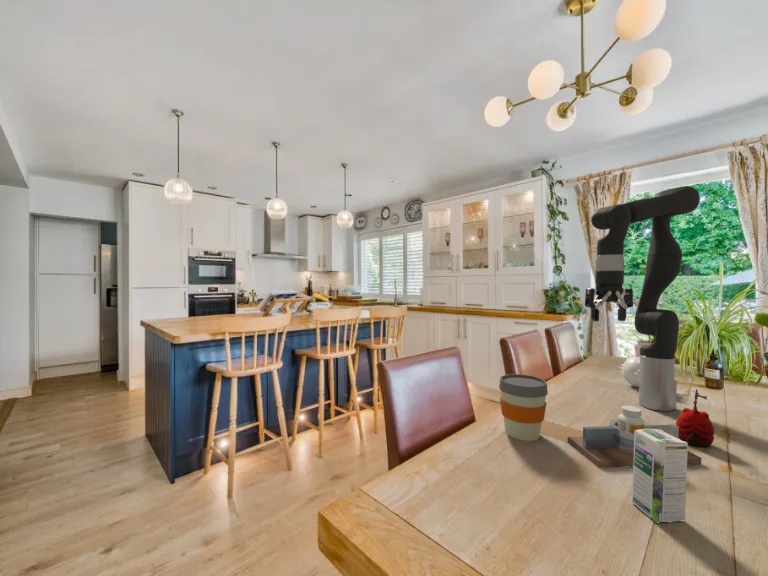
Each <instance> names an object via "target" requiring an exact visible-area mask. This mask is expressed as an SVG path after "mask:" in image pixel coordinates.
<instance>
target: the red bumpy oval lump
mask: <svg viewBox="0 0 768 576" xmlns="http://www.w3.org/2000/svg"><path fill="white" fill-rule="evenodd" d="M698 391H699V390H698V389H695V390H694V389H693V393H694V401H693V405H694V406H693V408H692V409H690V408H689V407H684V408H683V409H682V412H681V413H680V414H679V416H678V417H677V418H676V422H675V425H676V426H678V427H679V428H678V439H680V440H682V441H685V442H687V444H688V445H691V446H694V447H699V448H708V447H710V446H712V444H713V443H714V440H715V437H714V435H715V428H714V425H713V423H712V421H711V419H710V417H709V413H707V412H706V411H700V410H698V407H697V404H698V398H702V399H703V400H706V401H707V400H708V398H707V397H708V396H707V395H701V394H700V393H699V392H698Z"/></svg>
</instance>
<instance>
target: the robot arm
mask: <svg viewBox="0 0 768 576" xmlns="http://www.w3.org/2000/svg"><path fill="white" fill-rule="evenodd" d="M700 198H701V196H700V193H699V191H698V190H697V189H696V187H693V186H689V185H685V186H684V185H683V186H679V187H674V188H670V189H665V190H662V191H659V192H658V193H657V194H656V195H655V196H653V197H647V198H642V199H641V198H640V199H635V200H631V201H628V202H625V203H618V204H615V205H609V206H605V207H600V208H597V210H595V211H594V212H593V213H592V215H591V218H590V221H591V225H592V226H593V227H594V228H596V229H597V230H600V231H603V230H604V231H605V230H609V231H608V233H607V234H606V235H603V236H602V237H599V238H598V239H597V241H596V242H597V243H596V259H595V277H594V278H595V281H594V283H595V288H591V287H587V288H585V299H584V307H585V308H586V307H587V308H590V311H591V312H590V318H591V320H592V321H593V322H599V321H600V307H601V306H602V305H603V304H605V303H610V302H611V303H614V304H615V305H616V306H617V321H619V322H625V321H626V319H627V310H628V309H629V308H633V307H634V294H633V293H634V290H633V288H631V287H625V288H623V285H624V284H625V283H624V282H625V259H624V258H625V257H624V253H625V252H624V250H625V249H624V248H625V246H624V242H625V240H626V237H627V233H628V231H629V228H630V225H631V224H636V223H639V222H643V221H646V220H651V235H650V241H649V249H648V253H647V258H646V264H645V273H644V278H643V284H642V290H641V294H640V297H639V300H638V304H637V307H636V312H635V314H634V327H635V330H636V331H637V332H638V333H639V334H642V335H646V336H654V337H655V339H654V340H655V341H654V342H653V343H651V344H645V345H641V346H640V348H639V357H640V369H639V388H638V404H639V406H641V407H643V408H647V409H648V410H649V409H650V410H653V411H654V410H655V411H660V412H672V411H673V410H676V409H677V393H678V392H677V391H678V390H677V385H678V381H677V380H675V358H676V357H675V356H676V355H675V354H676V352H677V348H678V339H679V330H680V321H679V317H678V314H677V313H676V312H674V311H673V310H669V309H660V308H658V309H657V307H658V303H659V300H660V298H661V296H662V295H663V293H664V291H665V290H667V288H668V287H669V286H670V285H671V284H672V283H673V282H674V281H675V280H676V279H677V277H678V276H679V274H680V271H681V267H682V262H683V250H682V249H681V246H680V245H679V243H678V242H677V240H676V239H675V237H674V235H673V233H672V230H671V219H672V217H673V216H680V215H685V214H686V215H687V214H689V213H692V212H694V211H695V210H696V209H697V208H698V206H699V204H700V203H701V202H700V201H701V199H700ZM595 295H596V296H595Z"/></svg>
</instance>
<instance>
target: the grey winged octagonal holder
mask: <svg viewBox="0 0 768 576" xmlns="http://www.w3.org/2000/svg"><path fill="white" fill-rule="evenodd" d="M608 424H609V426H583V427H582V436H583V447H584V448H585V449H612V448H616V449H618V450H619V451H622V452H626V453H629V454H633V455H634V432H630V431H626V430H622V429H621V428H619V427H618V419H611V421H610V422H609V423H608ZM678 428H679V427H678V426H676V424H653V425H652V424H651V425H645V424H644V429H658V430H662V431H664V432H665V433H667V434H669V435H671V436H673V437H675V438H677V439H679V438H678Z"/></svg>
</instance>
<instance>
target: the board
mask: <svg viewBox="0 0 768 576" xmlns="http://www.w3.org/2000/svg"><path fill="white" fill-rule="evenodd" d="M567 444H569V445H570V446H571V447H572V448H574V449H575V450H576V451H578V452H579V453H580V454H582V455H583V456H584V457H585V458H587V459H588V460H589V461H590V462H591V463H593V464H594V465H595V466H597V467H598V468H625V466H630V467H633V464H634V455H633V454H629V453H626V452H622V451H619V450H618V449H616V448H612V449H585V448H584V447H583V435H582V436H567ZM687 464H692V465H702V457H700V456H699V455H697V454H695V453H693V452H691V451H689V450H688V453H687Z"/></svg>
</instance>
